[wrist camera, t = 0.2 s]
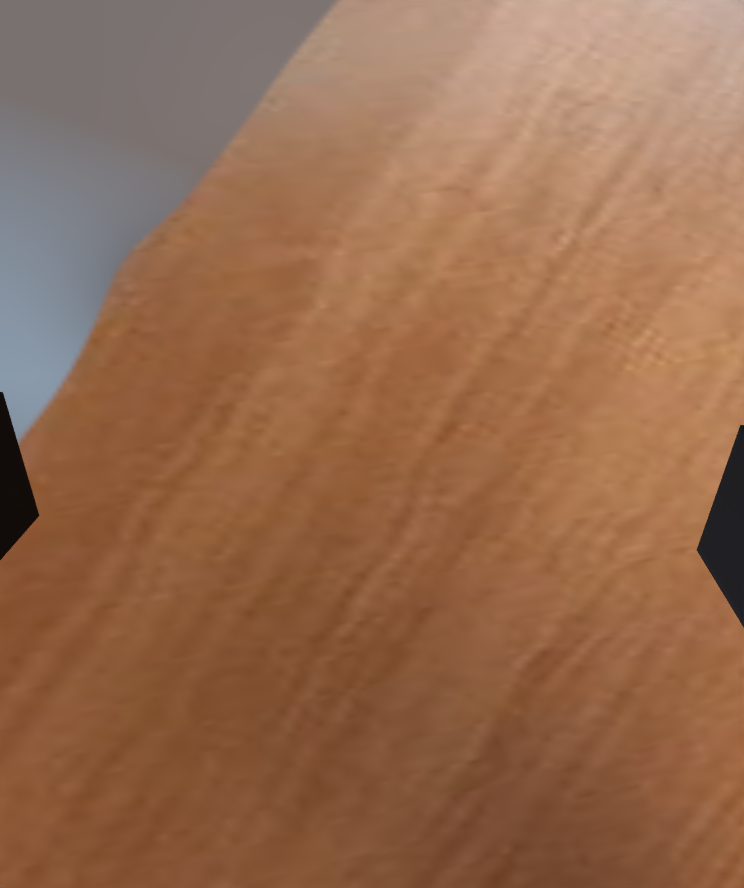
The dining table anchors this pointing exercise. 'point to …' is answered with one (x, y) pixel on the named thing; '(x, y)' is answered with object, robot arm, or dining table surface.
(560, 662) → the dining table surface
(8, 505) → the robot arm
